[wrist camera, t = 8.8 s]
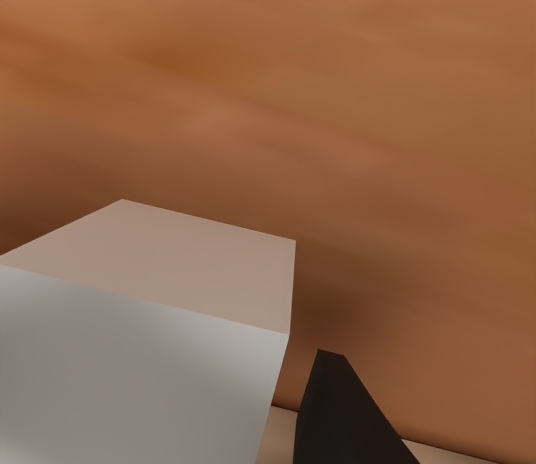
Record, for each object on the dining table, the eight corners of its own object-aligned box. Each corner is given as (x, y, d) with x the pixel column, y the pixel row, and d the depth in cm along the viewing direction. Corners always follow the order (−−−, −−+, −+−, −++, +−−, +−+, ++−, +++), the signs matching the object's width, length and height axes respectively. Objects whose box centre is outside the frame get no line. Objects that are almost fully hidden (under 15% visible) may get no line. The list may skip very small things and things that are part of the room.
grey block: (295, 239, 11) (290, 335, 6) (258, 385, 13) (230, 552, 8) (123, 198, 11) (-12, 261, 6) (106, 347, 13) (-14, 489, 8)
